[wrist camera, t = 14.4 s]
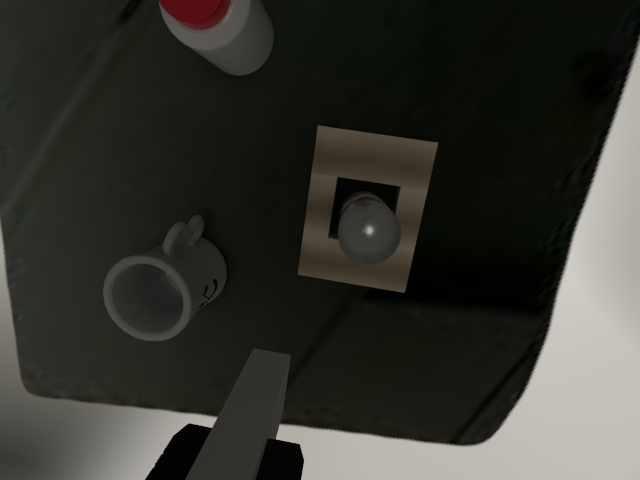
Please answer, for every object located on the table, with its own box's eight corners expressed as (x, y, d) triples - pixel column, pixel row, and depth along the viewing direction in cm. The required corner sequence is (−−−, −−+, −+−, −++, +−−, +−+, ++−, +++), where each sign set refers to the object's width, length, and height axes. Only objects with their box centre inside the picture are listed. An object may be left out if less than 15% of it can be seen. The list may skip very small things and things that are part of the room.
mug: (217, 312, 42) (177, 356, 33) (151, 285, 42) (92, 322, 33) (247, 225, 39) (213, 245, 30) (176, 196, 39) (119, 207, 30)
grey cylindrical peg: (345, 185, 37) (343, 198, 24) (385, 191, 37) (407, 208, 23) (338, 225, 38) (333, 259, 25) (378, 231, 38) (394, 269, 25)
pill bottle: (222, -22, 34) (162, -107, 23) (287, 19, 34) (258, -46, 23) (190, 51, 36) (122, 3, 25) (252, 89, 36) (211, 59, 25)
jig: (320, 128, 36) (318, 125, 33) (430, 144, 35) (438, 142, 33) (301, 266, 40) (297, 274, 37) (400, 282, 39) (404, 292, 36)
